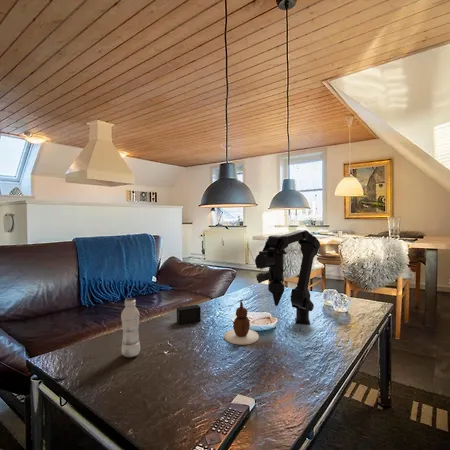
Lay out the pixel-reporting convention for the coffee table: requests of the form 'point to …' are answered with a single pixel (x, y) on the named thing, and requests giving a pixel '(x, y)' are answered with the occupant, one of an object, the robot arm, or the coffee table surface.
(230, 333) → the ceramic plate
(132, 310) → the plastic bottle
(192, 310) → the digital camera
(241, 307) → the wooden figurine
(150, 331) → the coffee table surface
